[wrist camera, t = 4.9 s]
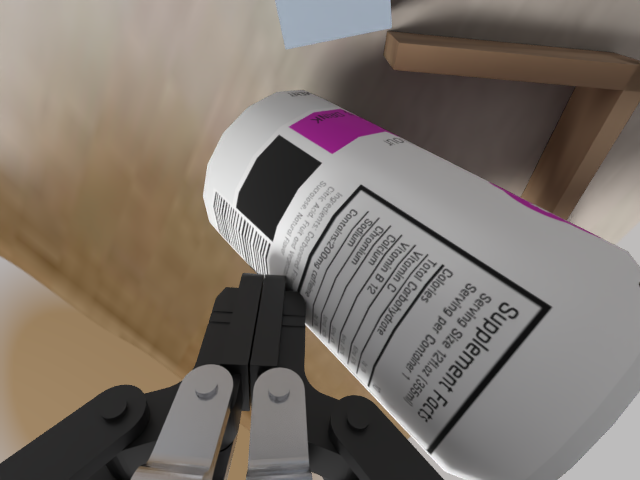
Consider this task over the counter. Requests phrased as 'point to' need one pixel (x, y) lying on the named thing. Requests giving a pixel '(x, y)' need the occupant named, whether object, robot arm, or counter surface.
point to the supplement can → (434, 286)
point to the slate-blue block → (330, 19)
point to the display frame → (551, 68)
